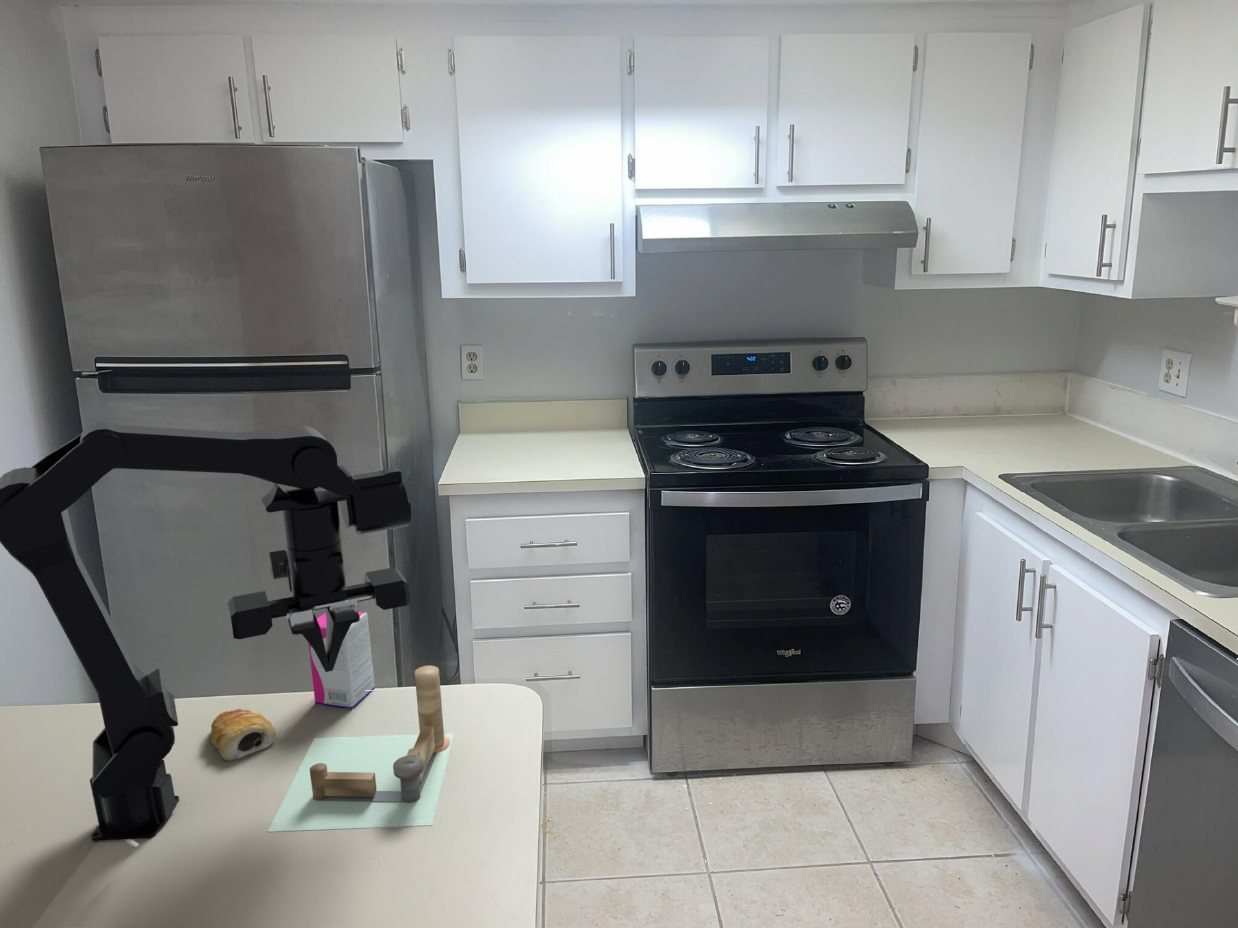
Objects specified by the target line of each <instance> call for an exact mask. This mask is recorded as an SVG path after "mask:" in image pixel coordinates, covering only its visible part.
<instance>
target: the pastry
mask: <svg viewBox="0 0 1238 928" xmlns="http://www.w3.org/2000/svg"><path fill="white" fill-rule="evenodd" d="M210 727H211V729H210V732H211V733H210V735H211V739H210V741H211V743H212V745H214V746H215V747H216V748H217V749H218V752H219V755H220V756H221V757H222V758H223V759H224V760H225V761H233V760H235V759H240V758H241V759H242V758H243V757H245V756H248V755H250V754H252V753H255V752H258V751H261V750H265V749H267V748H269V747H270V746H271V745H272V744H273V743H274V741H275V738H276V732H275V731H276V730H275V727H274V726H273V724H272V722H271V721H269V720H267V718H266V717H265V716H264V715H262V714H261V713H260V712H252V711H251V710H248V709H241V708H239V709H234V710H229V711H228V710H227V711H226V710H225V711H223V712H221V713H219V715H217V716H216V717H215V718H214V720H213V721H212V722H211V725H210Z"/></svg>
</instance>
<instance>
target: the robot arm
mask: <svg viewBox="0 0 1238 928" xmlns="http://www.w3.org/2000/svg"><path fill="white" fill-rule="evenodd" d="M115 469H123V470H124V469H125V470H126V469H127V470H143V471H144V470H145V471H146V470H147V471H148V470H149V471H150V470H151V471H170V472H171V471H172V472H191V473H193V472H195V473H214V474H216V473H217V474H218V473H219V474H220V473H221V474H239V475H245V476H249V477H254V478H256V479H261V480H263V481H267V482H270V483H273V484H272V485H273V486H272V488H271V489H270V490H269V492H268V493H266V494H265V496H263V497H262V498H261V500H260V502H261V504H262V506H263V507H264V510H265V511H266V512H267V513H269V514H271V513H275V512H276V513H277V512H281V511H282V518H283V519H282V520H283V527H284V535H285V542H286V543H285V545H286V549H281V550H275V551H269V552H268V557H269V566H270V573H271V577H272V579H273V580H278V579H285V578H287V583H288V584H287V585H288V590H289V592H291V593H292V596H289V597H284V598H278V599H273V600H268V596H267V593H266V590H263V591H258V592H257V591H256V592H252V593H247V594H241V595H236V596H232V597H231V598H230V599H229V601H228V602H227V606H228V607H227V608H228V613H229V621H230V626H231V632H232V637H233V639H234V640H244V639H249V638H253V637H259V636H264V635H266V634H268V632H269V631H270V630H271V629H272V627H273V619H277V618H283V617H285V618H286V620H287V621H286V622H287V624H288V627H289V631H290V633H291V635H295V636H296V635H297V636H298V635H301V636H303V638H304V639H305V640H306V642H307V643H309V644H310V645H311V646H312V648H313V649H314V651H315V653H316V655H317V657H318V659H319V660H320V662H321V664H322V666H323V668H324V670H325V672H329V671H333V669H334V666H335V663H336V660H337V657H338V654H339V651H340V648H341V645H342V642H343V640H344V638H345V636H346V634H347V632H348V630H349V628H350V626H351V624H352V623H356V622H358V621H359V620H360V616H359V614H358V612H359V611H358V610H357V607H358V606H359V605H358V603H359V602H363V601H369V600H374V603H375V605H376V606H377V607H379V608H380V609H382V610H384V611H387V610H392V609H396V608H401V607H407V606H408V605H410V604H411V595H410V594H411V593H410V587H409V584H408V582H407V580H406V579H405V577H404V575H402V573H401V571H400V570H399V569H397V568H395V567H388V568H384V569H383V568H382V569H379V570H378V569H377V570H372V571H367V572H365V573H364V577H363V578H364V583H358V584H353V585H347V581H346V572H345V571H346V570H345V569H346V568H345V561H344V551H343V543H342V533H341V524H340V523H341V522H340V512H339V503H338V502H340V511H341V517H342V520H343V523H344V524H343V525H344V526H345V527H346V528H352V527H353V529H354V532H355V533H356V534H357V535H359V536H361V535H367V534H370V533H371V534H372V533H377V532H382V531H388V530H394V529H399V528H405V527H406V528H407V527H408V526H410V524H411V520H412V505H411V501H410V500H409V498H408V494H407V493H408V492H407V490H406V487H405V484H404V481H403V475H402V472H401V471H400V470H399V469H398V468H397V467H396V466H395V467H388V468H387V467H386V468H384V469H381V470H378V471H372V472H366V473H358V474H352V473H350V472H349V471H348V470H347V469H346V468H345V466H343V465H342V464H341V465H339V464H338V455H337V452H336V450H335V447H334V446H333V445H332V444H331V443H330V442H329V441H328V440H327V438H325V437H324V435H322V434H321V432H319V431H318V430H317V429H315V428H313V427H311V426H308V425H304V424H295V425H293V424H292V425H285V426H273V427H265V428H263V429H257V430H253V431H245V432H244V431H243V432H232V431H231V432H228V431H214V430H200V429H199V430H198V429H197V430H196V429H183V428H182V429H181V428H167V427H153V426H152V427H151V426H136V425H122V424H115V423H113V422H109V421H99V422H98V421H97V422H94V423H92V424H89V425H88V426H87V427H86V428H84V429H83V431H82V432H81V433H80V434H78V435H76V437H73V439H71V440H69V441H68V442H66V443H65V444H63V445H61V446H59V447H58V448H56V449H55V450H53V451H52V452H50V453H49V454H47V455H45V456H44V457H43V458H41V459H40V460H38V461H37V462H36V463H35V464H33V465H32V466H30V467H19V468H14V469H12V470H10V471H8V472H6V473H4V474H3V475H1V476H0V544H1V545H2V546H3V548H4V549H5V550H6V551H7V553H8V554H9V555H10V556H11V557H12V558H13V559H14V560H15V561H16V562H18V563H19V564H20V565H22V566H23V568H25V569H26V570H28V572H30V573H31V575H33V577H34V578H35V579H36V582H37V583H38V585H39V587H40V589H41V590H42V592H43V594H44V596H45V599H46V600H47V603H48V604H49V606H50V608H51V609H52V612H53V613H54V615H55V617H56V619H57V620H58V623H59V624H60V626H61V629H62V631H64V634H65V636H66V637H67V639H68V641H69V643H70V645H71V647H72V649H73V650H74V652H75V654H76V657H77V658H78V660H79V662H80V663H81V665H82V667H83V669H84V671H85V673H86V675H87V676H88V679H89V681H90V682H91V684H92V686H93V688H94V690H95V692H96V693H97V696H98V702H99V706H100V711H101V715H102V716H101V717H102V720H103V724H104V728H103V729H102V730H101V732H100V733H98V735H97V736H96V737H95V738H94V740H93V741H92V773H91V774H92V775H91V778H89V785H90V791H91V793H92V798H93V804H94V809H95V813H96V818H97V822H98V825H97V827H96V828H95V829H94V831H93V832H92V833H91V835H90V838H91V841H92V842H100V841H101V842H103V841H107V842H108V841H126V840H127V841H128V840H130V841H131V840H134V839H135V840H140V839H143V840H144V839H146V840H147V839H152V838H155V837H156V836H157V834H158V833H159V831H160V830H161V828H162V827H163V826H164V824H165V823H166V821H167V820H168V819H169V818H170V816H171V815H172V813H173V812H174V810H175V808H176V807H177V805H178V803H179V802H180V797H179V796H178V795H175V790H174V784H173V779H172V775H171V774H170V773H167V769H166V764H165V763H166V762H165V758H166V757H167V756H168V754H169V753H170V752H171V751H172V748H173V747H174V745H175V741H176V736H175V729H174V727H178V725H179V720H178V713H177V708H176V700H175V695H174V694H173V693H171V692H170V691H169V690H168V689H167V688H166V686H165V683H164V680H163V677H162V672H161V669H160V668H156V669H155V670H153V671H152V672H150V673H148V674H146V673H145V672H143V671H142V670H141V669H140V668H139V667H137V665H136V664H135V663H134V661H133V659H132V657H131V655H130V653H129V651H128V649H127V647H126V645H125V644H124V641H123V640H122V637H121V635H120V634H119V631H118V629H117V627H116V626H115V624H114V621H113V620H112V618H111V616H110V613H109V612H108V609H107V608H106V606H105V603H104V602H103V600H102V598H101V596H100V594H99V592H98V590H97V588H96V586H95V584H94V583H93V581H92V578H91V576H90V574H89V571H88V570H87V569H86V566H85V565H84V563H83V561H82V559H81V557H80V555H79V553H78V551H77V546H76V543H75V539H74V538H75V537H74V533H73V527H72V524H71V520H70V519H71V518H70V514H69V510H68V508H69V507H71V506H72V505H74V503H76V502H77V501H78V500H80V499H81V497H83V496H84V494H86V492H88V491H89V490H90V489H91V488H92V487H94V485H95V484H97V483H98V482H99V481H100V480H101V479H102V478H103V477H104V476H106V475H107V474H109V473H110V472H111V471H113V470H115ZM283 486H288V487H293V488H290V489H289V488H288V489H285V488H284V487H283ZM319 488H321V489H324V490H316V489H319ZM323 609H325V611H324V612H325V613H326V649H325V645H324V641H323V638H322V634H321V630H320V626H319V623H318V621H317V618H318V617H316V611H317V610H323ZM309 644H308V645H309Z"/></svg>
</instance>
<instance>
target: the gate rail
mask: <svg viewBox="0 0 1238 928" xmlns="http://www.w3.org/2000/svg"><path fill="white" fill-rule="evenodd" d="M414 681H415V683H414V684H415V694H416V704H417V705H416V707H417V714H418V717H417V718H418V728H419V734H418V735H419V736H418V738H417V741H416V743H415V745H414V747H413V749H409V751H408V753H407V756H404V757H401V758H399V759H397V760H396V761H395V762H394V764H393V770H394V775H395V776H396V777H397V778H399V779H412V778H415V777H417V776H419V783H421V781H422V779H423V776H424V774H425V771H426V769H427V766H428V764H429V762H430V759H431V757H432V754H433V752H434V749H435V748H438V747H440V746H442V745H443V743H444V734H445V732H444V717H443V704H442V693H441V691H442V690H441V679H440V669H439V667H437V666H435V665H424V666H420V667H418V668H417V669H415V671H414Z"/></svg>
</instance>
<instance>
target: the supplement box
mask: <svg viewBox="0 0 1238 928" xmlns="http://www.w3.org/2000/svg"><path fill="white" fill-rule="evenodd" d="M357 612H358V614H359V616H360V620H359V621H358V622H356V623H352V624H351V626H350V628H349V630H348V632H347V634H346V636H345V638H344V640H343V642H342V645H341V648H340V651H339V654H338V657H337V660H336V663H335V666H334V669H333V671H329V672H325V670H324V668H323V666H322V664H321V662H320V660H319V659H318V657H317V655H316V653H315V651H314V649H313V648H312V646H311V645H310V644H309V643H308V642H307V643H308V651H309V660H310V661H309V662H310V668H311V669H310V670H311V678H312V685H313V694H314V697H313V698H314V703H315V705H316V706H317V705H319V706H323V707H324V706H325V707H330V708H331V707H332V708H336V709H337V708H338V709H344V710H354V709H355V708H356V707H357V706H358V705H359V704H360V703H362V701H364V699H366V698H367V697H368V696H369V695H371V693H372V692H373V691H374V690H375V689H376V686H375V678H374V677H375V675H374V669H373V659H372V658H373V657H372V649H371V640H370V629H369V628H370V627H369V619H368V618H369V617H368V612H362V611H357ZM316 618H317V621H318V623H319V626H320V630H321V634H322V638H323V641H324V645H325V649H326V612H324V613H323V614H322V615H320V616H319V617H316ZM365 690H373V691H365Z"/></svg>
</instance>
